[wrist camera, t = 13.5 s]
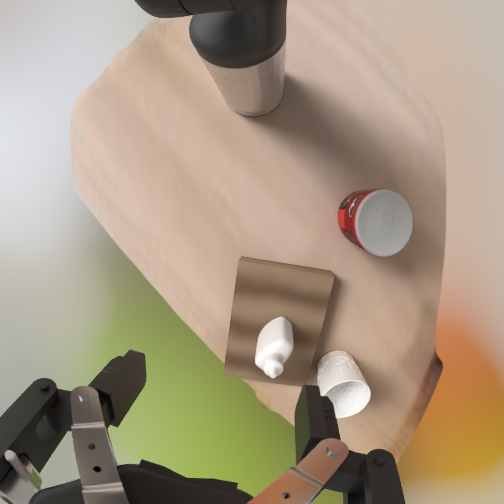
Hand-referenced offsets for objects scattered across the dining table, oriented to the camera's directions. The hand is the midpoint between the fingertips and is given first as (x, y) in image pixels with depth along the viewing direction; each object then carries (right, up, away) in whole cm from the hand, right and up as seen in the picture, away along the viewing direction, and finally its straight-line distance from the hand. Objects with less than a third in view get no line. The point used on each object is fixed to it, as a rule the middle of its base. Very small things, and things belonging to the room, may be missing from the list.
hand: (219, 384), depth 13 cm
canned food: (+18, +12, +28) cm, 36 cm away
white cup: (+16, -14, +33) cm, 40 cm away
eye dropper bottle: (+5, -6, +30) cm, 31 cm away
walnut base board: (+5, -5, +32) cm, 33 cm away
